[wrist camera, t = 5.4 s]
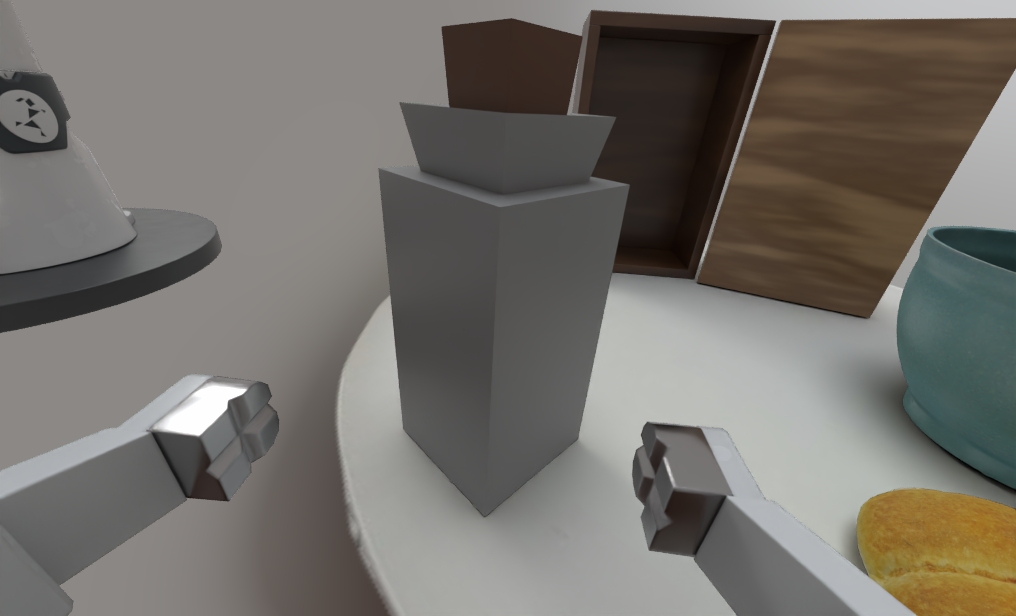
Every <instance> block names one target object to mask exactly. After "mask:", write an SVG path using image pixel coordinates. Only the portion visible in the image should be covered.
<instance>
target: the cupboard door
mask: <svg viewBox="0 0 1016 616" xmlns="http://www.w3.org/2000/svg"><path fill="white" fill-rule="evenodd" d="M1015 69H1016V18H992V19H991V18H981V19H859V20H858V19H851V20H849V19H848V20H847V19H845V20H782V21H781V22H780V24H779V27H778V30H777V33H776V37H775V40H774V43H773V46H772V49H771V52H770V55H769V58H768V61H767V64H766V68H765V71H764V74H763V77H762V80H761V83H760V86H759V89H758V93H757V96H756V99H755V102H754V105H753V108H752V111H751V114H750V118H749V120H748V124H747V127H746V130H745V133H744V136H743V139H742V142H741V145H740V148H739V151H738V155H737V158H736V161H735V164H734V167H733V170H732V173H731V176H730V179H729V182H728V186H727V189H726V192H725V195H724V198H723V201H722V204H721V207H720V211H719V214H718V217H717V220H716V223H715V226H714V229H713V232H712V235H711V239H710V242H709V245H708V248H707V251H706V254H705V257H704V260H703V263H702V266H701V270H700V273H699V276H698V279H697V282H699V283H703V284H708V285H713V286H718V287H723V288H727V289H732V290H737V291H742V292H747V293H752V294H756V295H761V296H766V297H771V298H776V299H781V300H785V301H790V302H795V303H800V304H805V305H810V306H814V307H819V308H824V309H829V310H834V311H838V312H843V313H848V314H853V315H858V316H863V317H867V318H870V316H871V315H872V313H873V311H874V310H875V308H876V306H877V304H878V303H879V301H880V299H881V298H882V296H883V294H884V292H885V291H886V289H887V287H888V286H889V284H890V282H891V280H892V279H893V277H894V275H895V274H896V272H897V270H898V269H899V267H900V265H901V263H902V262H903V260H904V258H905V256H906V255H907V253H908V251H909V250H910V248H911V246H912V245H913V243H914V241H915V240H916V238H917V236H918V234H919V233H920V231H921V229H922V227H923V226H924V224H925V222H926V221H927V219H928V217H929V216H930V214H931V212H932V210H933V209H934V207H935V205H936V204H937V202H938V200H939V198H940V197H941V195H942V193H943V192H944V190H945V188H946V187H947V185H948V183H949V181H950V180H951V178H952V176H953V175H954V173H955V171H956V169H957V168H958V166H959V164H960V163H961V161H962V159H963V158H964V156H965V154H966V152H967V151H968V149H969V147H970V146H971V144H972V142H973V140H974V139H975V137H976V135H977V134H978V132H979V130H980V129H981V127H982V125H983V123H984V122H985V120H986V118H987V117H988V115H989V113H990V111H991V110H992V108H993V106H994V105H995V103H996V101H997V100H998V98H999V96H1000V94H1001V92H1002V90H1003V89H1004V88H1005V86H1006V84H1007V82H1008V81H1009V79H1010V77H1011V76H1012V74H1013V72H1014V71H1015Z"/></svg>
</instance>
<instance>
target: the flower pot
mask: <svg viewBox="0 0 1016 616" xmlns="http://www.w3.org/2000/svg"><path fill="white" fill-rule="evenodd" d="M897 346H898V353H899V358H900V362H901V366H902V370H903V373H904V376H905V378H906V381H907V383H908V387H907V389H906V392H905V394H904V397H903V405H904V408H905V410H906V413H907V414H908V415H909V417H910V418H911V419H912V421H913V422H914V423H915V424H916V425H917V426H918V427H919V428H920V429H921V430H922V431H923V432H924V433H925V434H926V435H927V436H929V437H930V438H931V439H932V440H934V441H935V442H936V443H937V444H939V445H940V446H941V447H943V448H944V449H946V450H947V451H948V452H950V453H951V454H953V455H954V456H956V457H957V458H959V459H960V460H962V461H964V462H965V463H967V464H969V465H970V466H972V467H974V468H975V469H977V470H979V471H980V472H982V473H983V474H984V475H986V476H989V477H992V478H994V479H995V480H997V481H999V482H1001V483H1003V484H1005V485H1007V486H1010V487H1012V488H1014V489H1016V231H1014V230H1005V229H996V228H983V227H969V226H943V227H934V228H930V229H928V231H927V235H926V236H925V238H924V240H923V242H922V245H921V248H920V255H919V258H918V261H917V262H916V264H915V266H914V268H913V269H912V271H911V274H910V276H909V278H908V280H907V282H906V285H905V287H904V290H903V293H902V297H901V300H900V304H899V310H898V317H897Z"/></svg>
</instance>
